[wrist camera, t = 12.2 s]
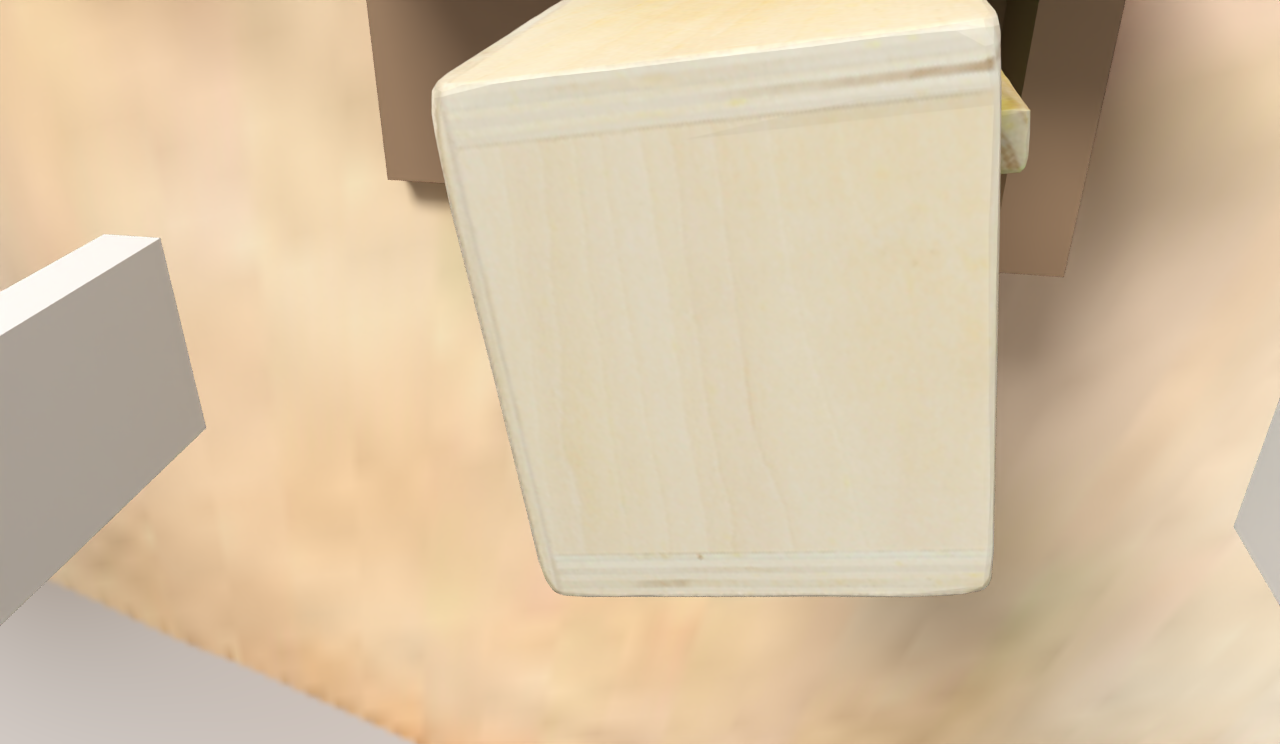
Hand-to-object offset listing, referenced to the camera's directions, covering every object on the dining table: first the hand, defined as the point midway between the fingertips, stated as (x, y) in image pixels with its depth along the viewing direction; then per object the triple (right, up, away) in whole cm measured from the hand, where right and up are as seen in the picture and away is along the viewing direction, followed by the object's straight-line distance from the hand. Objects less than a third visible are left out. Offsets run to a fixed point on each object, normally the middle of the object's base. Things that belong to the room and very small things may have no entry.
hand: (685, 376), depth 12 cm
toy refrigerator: (+5, +10, +19) cm, 22 cm away
